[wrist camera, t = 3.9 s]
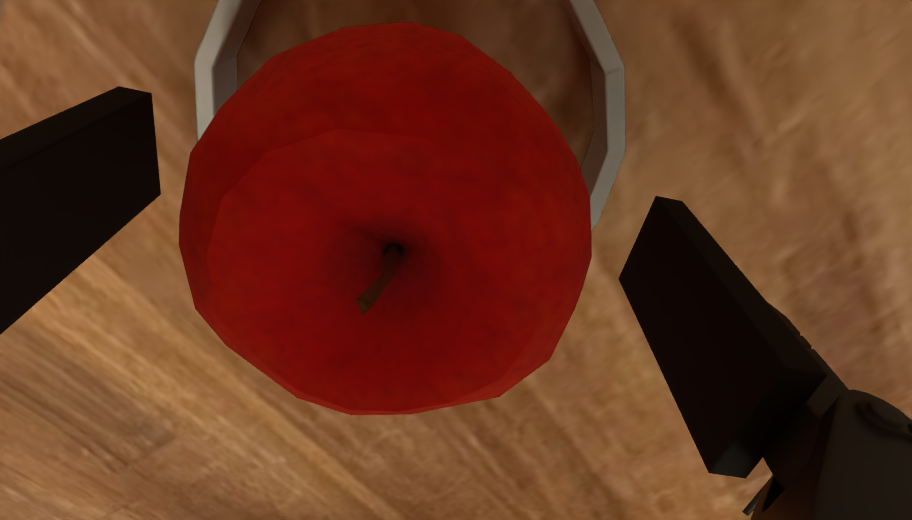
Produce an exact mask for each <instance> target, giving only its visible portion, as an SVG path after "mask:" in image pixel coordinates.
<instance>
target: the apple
mask: <svg viewBox="0 0 912 520" xmlns="http://www.w3.org/2000/svg"><path fill="white" fill-rule="evenodd" d="M179 247H180V251H181V255H182V258H183V262H184V266H185V270H186V274H187V278H188V282H189V286H190V290H191V294H192V298H193V302H194V305H195V309H196V310H197V311H198V312H199V314H200V315H201V316H202V317H203V318H204V320H205V321H206V322H207V323H208V324H209V326H210V327H211V328H212V329H213V330H214V332H215V333H216V334H217V335H218V336H219V337H220V339H221V340H222V341H223V342H224V343H225V345H226V346H228V347H229V348H230V349H232V350H233V351H234V352H236V353H237V354H238V355H240V356H241V357H243V358H244V359H245V360H247V361H248V362H249V363H251V364H252V365H253V366H255V367H256V368H257V369H259V370H260V371H261V372H263V373H264V374H266V375H267V376H268V377H270V378H271V379H272V380H274V381H275V382H276V383H278V384H279V385H280V386H282V387H283V388H285V389H286V390H287V391H289V392H290V393H291V394H293V395H294V396H295V397H297V398H299V399H302V400H305V401H308V402H312V403H315V404H318V405H321V406H324V407H327V408H330V409H333V410H336V411H340V412H343V413H346V414H349V415H395V414H414V413H419V412H424V411H429V410H435V409H440V408H445V407H450V406H455V405H460V404H465V403H470V402H475V401H480V400H485V399H490V398H496V397H500V396H501V395H502V394H504V393H505V392H506V391H508V390H509V389H510V388H512V387H513V386H514V385H516V384H517V383H519V382H520V381H521V380H523V379H524V378H525V377H527V376H528V375H529V374H531V373H532V372H533V371H535V370H536V369H538V368H539V367H540V366H542V365H543V364H544V363H546V362H547V361H548V360H550V358H551V356H552V354H553V352H554V350H555V348H556V346H557V344H558V342H559V340H560V338H561V336H562V334H563V332H564V330H565V328H566V326H567V324H568V322H569V320H570V317H571V315H572V313H573V311H574V309H575V307H576V304H577V301H578V299H579V296H580V293H581V291H582V287H583V284H584V281H585V277H586V274H587V271H588V267H589V264H590V261H591V257H592V253H591V209H590V195H589V192H588V189H587V187H586V184H585V181H584V179H583V176H582V173H581V171H580V168H579V165H578V163H577V160H576V158H575V156H574V155H573V153H572V151H571V149H570V148H569V146H568V144H567V142H566V141H565V139H564V137H563V135H562V133H561V132H560V130H559V128H558V127H557V126H556V124H555V123H554V122H553V121H552V119H551V118H550V117H549V116H548V114H547V113H546V112H545V110H544V109H543V108H542V107H541V106H540V104H539V103H538V102H537V101H536V100H535V99H534V98H533V97H532V96H531V94H530V93H529V92H528V91H527V90H526V89H525V88H524V87H523V86H522V85H521V83H520V82H519V81H518V80H517V79H516V78H515V77H514V76H513V75H512V73H511V72H509V71H508V70H507V69H505V68H504V67H503V66H501V65H500V64H498V63H497V62H496V61H494V60H493V59H492V58H490V57H489V56H488V55H486V54H485V53H484V52H482V51H481V50H479V49H478V48H477V47H475V46H474V45H473V44H471V43H470V42H469V41H467V40H466V39H465V38H463V37H462V36H460V35H457V34H453V33H450V32H446V31H443V30H439V29H435V28H432V27H428V26H425V25H421V24H417V23H414V22H401V23H388V24H374V25H364V26H354V27H345V28H341V29H338V30H336V31H333V32H331V33H328V34H326V35H323V36H321V37H318V38H316V39H313V40H311V41H308V42H306V43H304V44H301V45H299V46H296V47H294V48H291V49H289V50H286V51H284V52H282V53H279V54H277V55H274V56H273V57H272V58H271V59H270V60H269V61H268V62H267V63H265V64H264V65H263V66H262V67H261V68H260V69H259V70H258V71H257V72H256V73H255V74H254V75H253V76H252V77H251V78H250V79H249V80H248V81H246V82H245V83H244V84H243V85H242V86H241V87H240V88H239V89H238V90H237V91H236V92H235V93H234V94H233V95H232V96H231V97H230V98H229V99H228V100H227V101H226V102H225V103H224V104H223V105H222V106H221V107H220V109H219V110H218V111H217V113H216V114H215V116H214V117H213V119H212V120H211V122H210V123H209V125H208V127H207V128H206V130H205V131H204V133H203V134H202V136H201V138H200V139H199V141H198V142H197V144H196V145H195V147H194V148H193V150H192V152H191V153H190V158H189V164H188V170H187V176H186V181H185V187H184V193H183V199H182V205H181V211H180V223H179Z"/></svg>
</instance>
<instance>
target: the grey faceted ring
mask: <svg viewBox="0 0 912 520" xmlns="http://www.w3.org/2000/svg"><path fill="white" fill-rule="evenodd" d="M561 1H562V4H563V6H564V8H565V10H566V12H567V14H568V16H569V18H570V20H571V22H572V24H573V26H574V28H575V30H576V32H577V34H578V36H579V38H580V40H581V42H582V44H583V46H584V48H585V50H586V52H587V54H588V56H589V58H590V61H591V76H592V97H593V117H594V134H593V137H592V139H591V142H590V145H589V148H588V151H587V153H586V156H585V159H584V162H583V165H582V167H581V170H580V171H581V173H582V176H583V179H584V181H585V184H586V187H587V189H588V192H589V195H590V209H591V230H592V229H593V228H594V227H595V225H596V224H597V223H598V220H599V218H600V215H601V213H602V210H603V208H604V205H605V203H606V200H607V198H608V195H609V192H610V190H611V187H612V185H613V182H614V180H615V177H616V175H617V172H618V170H619V167H620V165H621V162H622V160H623V157H624V155H625V152H626V130H625V71H624V64H623V62H622V59H621V57H620V55H619V53H618V51H617V48H616V46H615V44H614V42H613V40H612V38H611V35H610V33H609V31H608V29H607V27H606V25H605V22H604V20H603V18H602V16H601V14H600V12H599V9H598V7H597V5H596V3H595V1H594V0H561ZM260 2H261V0H218V1H217V3H216V5H215V8H214V10H213V13H212V15H211V18H210V20H209V23H208V25H207V28H206V30H205V33H204V35H203V38H202V40H201V43H200V45H199V48H198V50H197V52H196V55H195V57H194V80H195V101H196V122H197V142H198V141H199V139H200V138H201V136H202V134H203V133H204V131H205V130H206V128H207V127H208V125H209V123H210V122H211V120H212V119H213V117H214V116H215V114H216V113H217V111H218V110H219V109H220V107H221V106H222V105H223V104H224V103H225V102H226V101H227V100H228V99H229V98H230V97H231V96H232V95H233V94H234V93H235V92H236V91H237V81H236V56H237V53H238V51H239V49H240V47H241V44H242V42H243V40H244V38H245V35H246V33H247V31H248V29H249V26H250V24H251V22H252V20H253V17H254V15H255V13H256V11H257V8H258V6H259V4H260Z"/></svg>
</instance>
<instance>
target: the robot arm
mask: <svg viewBox="0 0 912 520" xmlns="http://www.w3.org/2000/svg"><path fill="white" fill-rule="evenodd" d="M159 195H161V191H160V180H159V169H158V158H157V147H156V136H155V125H154V115H153V104H152V93H149V92H144V91H139V90H134V89H129V88H124V87H119V86H118V87H116V88H114V89H112V90H110V91H107V92H105V93H103V94H101V95H98V96H96V97H94V98H92V99H89V100H87V101H85V102H83V103H81V104H78V105H76V106H74V107H72V108H69V109H67V110H65V111H63V112H60V113H58V114H56V115H54V116H52V117H49V118H47V119H45V120H43V121H40V122H38V123H36V124H34V125H31V126H29V127H27V128H25V129H23V130H20V131H18V132H16V133H14V134H11V135H9V136H7V137H5V138H2V139H0V334H2V333H3V332H4V331H5V330H6V329H7V328H8V327H10V326H11V325H12V324H13V323H14V322H15V321H16V320H18V319H19V318H20V317H21V316H22V315H23V314H24V313H26V312H27V311H28V310H29V309H30V308H31V307H32V306H34V305H35V304H36V303H37V302H38V301H39V300H40V299H42V298H43V297H44V296H45V295H46V294H47V293H48V292H50V291H51V290H52V289H53V288H54V287H55V286H56V285H58V284H59V283H60V282H61V281H62V280H63V279H64V278H66V277H67V276H68V275H69V274H70V273H71V272H72V271H74V270H75V269H76V268H77V267H78V266H79V265H80V264H82V263H83V262H84V261H85V260H86V259H87V258H88V257H90V256H91V255H92V254H93V253H94V252H95V251H96V250H98V249H99V248H100V247H101V246H102V245H103V244H104V243H106V242H107V241H108V240H109V239H110V238H111V237H112V236H114V235H115V234H116V233H117V232H118V231H119V230H120V229H122V228H123V227H124V226H125V225H126V224H127V223H128V222H130V221H131V220H132V219H133V218H134V217H135V216H136V215H138V214H139V213H140V212H141V211H142V210H143V209H145V208H146V207H147V206H148V205H149V204H150V203H151V202H153V201H154V200H155V199H156V198H157V197H158V196H159ZM619 281H620V283H621V285H622V287H623V289H624V292H625V294H626V296H627V298H628V300H629V302H630V305H631V307H632V309H633V311H634V313H635V315H636V317H637V320H638V322H639V324H640V326H641V328H642V330H643V332H644V335H645V337H646V339H647V341H648V343H649V345H650V348H651V350H652V352H653V354H654V356H655V358H656V360H657V363H658V365H659V367H660V369H661V371H662V373H663V376H664V378H665V380H666V382H667V384H668V386H669V388H670V391H671V393H672V395H673V397H674V399H675V401H676V403H677V406H678V408H679V410H680V412H681V414H682V416H683V419H684V421H685V423H686V425H687V427H688V429H689V431H690V434H691V436H692V438H693V440H694V442H695V444H696V447H697V449H698V451H699V453H700V455H701V457H702V459H703V462H704V464H705V466H706V468H707V470H708V472H709V473H713V474H720V475H726V476H733V477H740V478H746V477H747V476H748V475H749V474H750V472H751V471H752V470H753V469H754V467H755V466H756V465H757V464H758V462H759V461H760V460H761V459H762V457H763V458H764V460H765V462H766V463H767V465H768V467H769V468H770V470H771V472H772V474H773V475H772V477H771V478H770V479H769V480H768V481H767V483H766V484H765V485H764V486H763V487H762V489H761V490H760V491H759V492H758V493H757V495H756V496H755V497H754V498H753V499H752V501H751V502H750V503H749V504H748V505H747V507H746V508H745V509H744V510H743V511H742V512H743V513H745V514H746V515H749V514H750V513H751V512H752V511H753V510H754V512H753V514H752V517H751V520H912V420H911V419H910V418H909V417H907V416H906V415H905V414H904V413H903V412H901V411H900V410H899V409H897V408H895V407H894V406H892V405H891V404H889V403H887V402H886V401H884V400H882V399H880V398H878V397H876V396H873V395H871V394H869V393H866V392H861V391H857V390H849V389H848V388H847V387H846V386H845V385H844V383H843V382H842V381H841V380H840V379H839V378H838V376H837V375H836V374H835V373H834V372H833V371H832V369H831V368H830V367H829V366H828V365H827V364H826V362H825V361H824V360H823V359H822V358H821V357H820V355H819V354H818V353H817V352H816V351H815V350H814V349H811V345H810V344H809V343H808V341H807V340H806V339H805V338H804V337H803V336H800V332H799V331H798V330H797V329H796V327H795V326H794V325H793V324H792V323H791V322H790V320H789V319H788V318H787V317H786V316H785V315H783V314H782V313H781V312H780V311H778V310H777V309H776V308H774V307H773V306H772V305H770V304H769V303H768V302H766V301H765V299H764V298H763V297H762V296H761V295H760V293H759V292H758V291H757V290H756V289H755V287H754V286H753V285H752V284H751V283H750V281H749V280H748V279H747V278H746V277H745V275H744V274H743V273H742V272H741V271H740V270H739V268H738V267H737V266H736V265H735V264H734V262H733V261H732V260H731V259H730V258H729V256H728V255H727V254H726V253H725V252H724V250H723V249H722V248H721V247H720V246H719V244H718V243H717V242H716V241H715V240H714V239H713V237H712V236H711V235H710V234H709V233H708V231H707V230H706V229H705V228H704V227H703V225H702V224H701V223H700V222H699V221H698V219H697V218H696V217H695V216H694V215H693V213H692V212H691V211H690V210H689V209H688V207H687V206H686V205H685V204H684V203H683V202H682V201H678V200H674V199H669V198H664V197H659V196H656V197H655V199H654V201H653V203H652V206H651V208H650V210H649V212H648V215H647V217H646V219H645V221H644V223H643V226H642V228H641V230H640V232H639V234H638V237H637V239H636V241H635V243H634V246H633V248H632V250H631V252H630V254H629V257H628V259H627V261H626V263H625V265H624V268H623V270H622V272H621V274H620V277H619Z"/></svg>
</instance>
